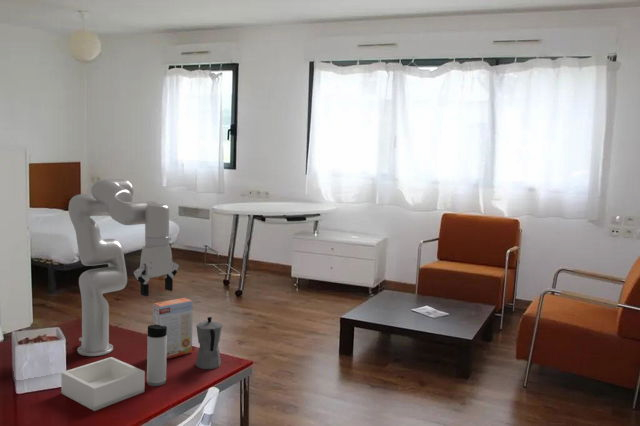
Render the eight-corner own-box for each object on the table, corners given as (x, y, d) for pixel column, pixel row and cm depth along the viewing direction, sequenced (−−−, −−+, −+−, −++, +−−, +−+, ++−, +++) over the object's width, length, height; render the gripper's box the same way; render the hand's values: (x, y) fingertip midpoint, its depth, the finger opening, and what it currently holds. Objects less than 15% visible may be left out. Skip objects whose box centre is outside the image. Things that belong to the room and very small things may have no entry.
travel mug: (142, 384, 193) (142, 326, 191) (154, 377, 199) (155, 321, 197) (157, 388, 191) (158, 329, 188) (169, 380, 197) (170, 324, 194)
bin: (61, 393, 184) (61, 372, 183) (111, 376, 198) (111, 356, 197) (94, 411, 173) (94, 388, 172) (144, 391, 188) (144, 371, 187)
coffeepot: (193, 359, 217) (194, 312, 215) (218, 357, 220) (219, 311, 218) (198, 375, 203) (199, 325, 201) (225, 372, 206) (227, 323, 204)
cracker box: (184, 348, 227) (185, 296, 225) (192, 353, 223) (193, 300, 220) (151, 356, 218) (152, 302, 215) (159, 361, 213) (159, 306, 211)
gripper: (170, 237, 199) (170, 286, 201) (127, 243, 185) (127, 295, 187) (185, 240, 194) (184, 290, 196) (142, 246, 180) (142, 299, 182)
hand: (156, 292), depth 192 cm, fingers open, 9 cm apart
